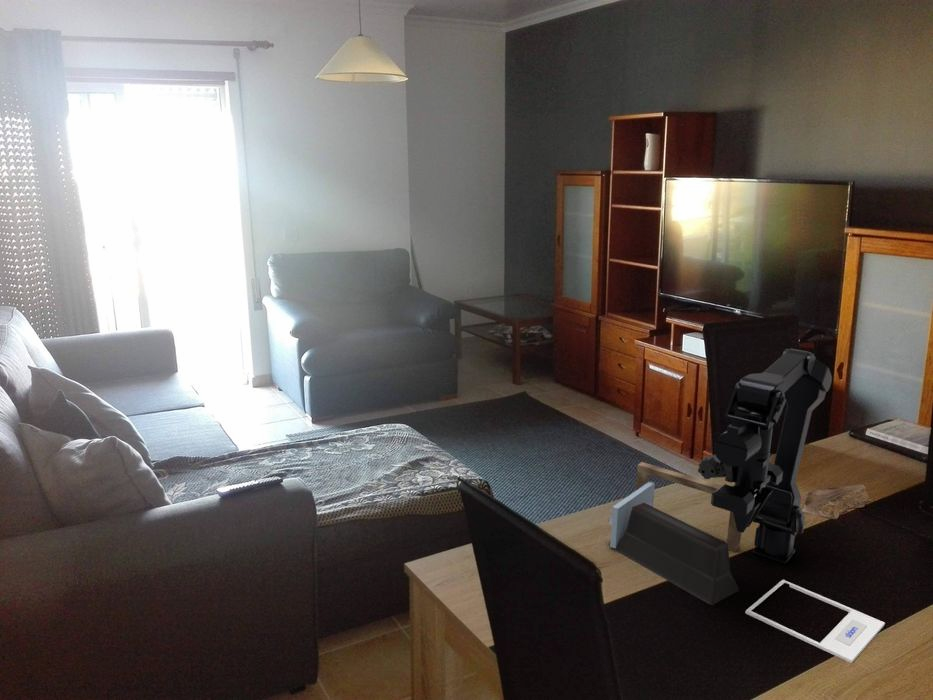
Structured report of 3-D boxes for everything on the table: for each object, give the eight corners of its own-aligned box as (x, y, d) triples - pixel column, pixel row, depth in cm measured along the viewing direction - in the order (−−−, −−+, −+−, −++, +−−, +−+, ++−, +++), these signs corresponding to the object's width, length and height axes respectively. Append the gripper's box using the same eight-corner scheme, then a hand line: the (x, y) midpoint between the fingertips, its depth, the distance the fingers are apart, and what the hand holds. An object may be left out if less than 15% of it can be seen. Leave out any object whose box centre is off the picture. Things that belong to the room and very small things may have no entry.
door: (641, 516, 166) (644, 479, 164) (651, 520, 165) (655, 482, 162) (604, 544, 154) (606, 504, 152) (615, 548, 153) (618, 508, 150)
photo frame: (852, 659, 120) (745, 609, 132) (851, 665, 120) (745, 615, 133) (885, 621, 129) (783, 578, 142) (884, 627, 130) (782, 583, 142)
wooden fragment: (826, 524, 164) (826, 520, 164) (781, 505, 173) (782, 501, 173) (890, 497, 178) (890, 493, 178) (846, 480, 187) (846, 476, 187)
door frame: (739, 548, 154) (745, 492, 151) (735, 552, 152) (742, 496, 149) (638, 513, 168) (641, 461, 165) (633, 516, 167) (637, 464, 164)
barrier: (740, 591, 140) (745, 542, 137) (711, 607, 135) (716, 557, 132) (642, 538, 158) (645, 495, 155) (613, 551, 153) (616, 506, 150)
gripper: (728, 423, 143) (720, 498, 147) (686, 452, 129) (678, 533, 133) (788, 437, 136) (778, 515, 140) (750, 470, 122) (740, 555, 127)
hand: (743, 529), depth 135 cm, fingers closed
